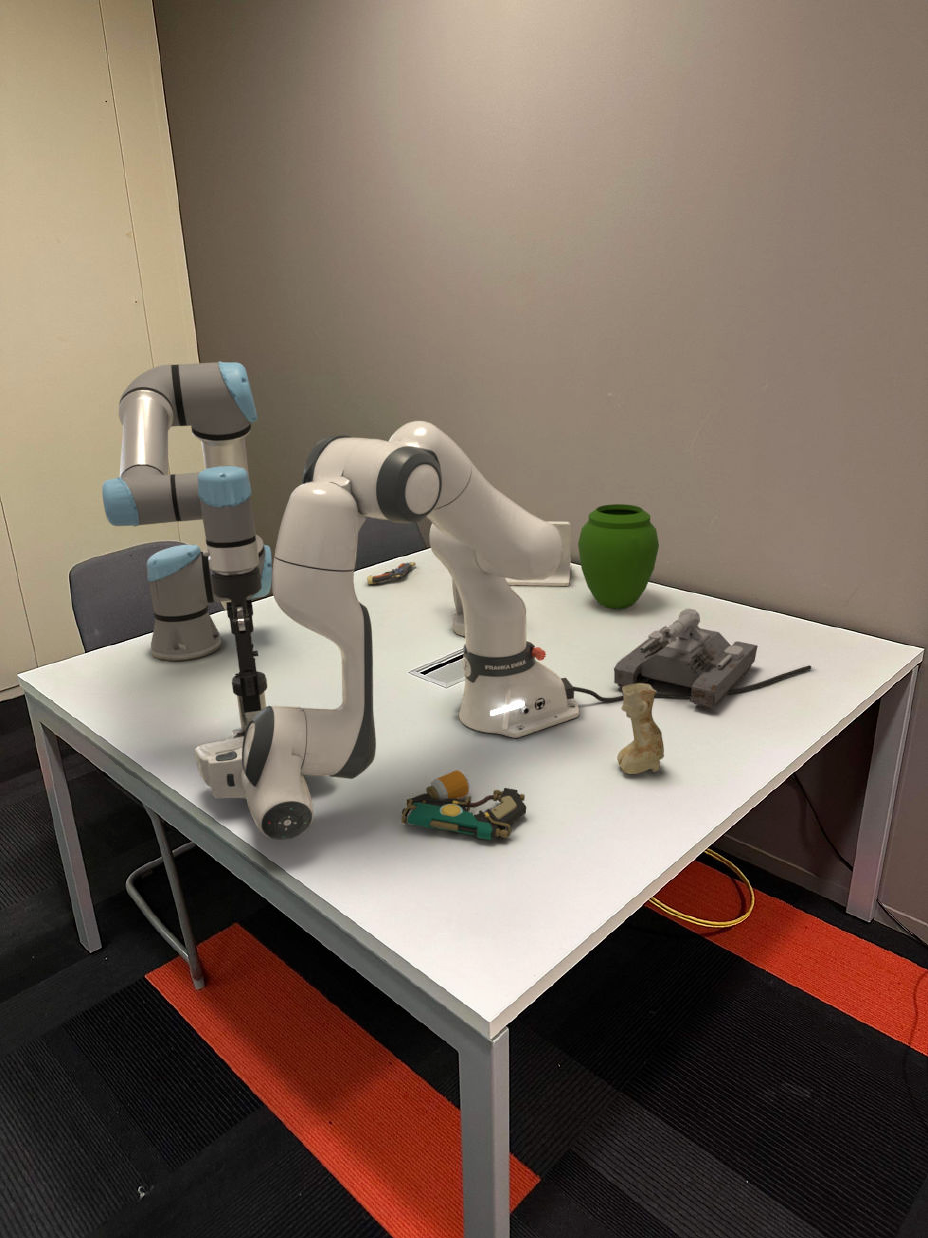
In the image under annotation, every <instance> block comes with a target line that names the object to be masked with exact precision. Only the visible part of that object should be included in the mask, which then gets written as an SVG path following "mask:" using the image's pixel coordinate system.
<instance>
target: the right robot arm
mask: <svg viewBox="0 0 928 1238" xmlns="http://www.w3.org/2000/svg"><path fill="white" fill-rule="evenodd" d="M301 483H302V484H300V485H298V486H297V487H296V488H295V489H294V490H293V491H292V492H291V494H290V496H289V499H288V501H287V504H286V506H285V510H284V513H283V516H282V519H281V523H280V526H279V530H278V535H277V539H276V544H275V550H274V556H273V562H272V581H271V593H272V596H273V599H274V600H275V603H276V604H277V606H278V608H280V610H281V611H282V613H284V614H285V616H286V615H287V617H288V618H290V619H291V620H292V621H293V622H295V623H296V624H298V625H300V626H301V627H304V628H305V629H307V630H309V631H311V632H313V633H315V634H317V635H319V636H321V637H323V638H325V639H327V640H329V641H331V642H332V643H333V644H334V645H336V647H338V649H339V653H340V656H341V698H342V699H341V704H340V705H339V706H338V707H336V708H314V707H313V708H312V707H301V706H289V705H288V706H287V705H285V706H284V705H266V707H265V708H264V709H262V710H261V711H260V712H259V713H258V714H257V715H256V716H255V717H254V718H253V719H252V720H251V721H250V723H249V724H248V726H247V728H246V731H245V735H244V736H243V732H242V729H241V728H238V729H232V734H231V735H230V736H229V737H228V738H227V739H224V740H217V741H213V742H207V743H201V744H199V745H198V746H196V747H195V749H194V753H195V760H196V766H197V770H198V773H199V775H200V777H201V779H202V781H203V782H204V783H205V785H207V786H209V788H210V789H211V792H212V795H213V797H214V798H215V799H245V800H246V803H247V806H248V810H249V812H250V815H251V818H252V820H253V821H254V824H255V826H256V827H257V828H258V829H259V832H261V833H262V834H263V835H264V836H266V837H267V838H269V839H271V840H281V841H282V840H291V839H295V838H296V837H297V838H298V836H300V835H302V834H303V833H305V832H306V831H307V830H308V829H309V827H310V826H311V825H312V823H313V820H314V806H313V801H312V800H313V799H312V795H311V792H310V789H309V786H308V784H307V783H308V782H307V781H306V778H305V777H304V776H328V777H331V778H341V779H349V780H353V779H355V778H357V777H359V776H360V775H361V774H362V773H364V771H366V770H367V769H368V768H369V767H370V766H371V765H372V764H373V762H374V760H375V756H376V749H377V738H376V737H377V736H376V727H375V715H374V647H373V643H374V642H373V628H372V622H371V616H370V614H369V609H368V608H367V606H366V605H364V604H363V603H361V602H360V601H359V600H358V597H357V594H356V590H355V582H354V580H355V568H356V562H357V554H358V552H357V551H358V541H359V532H360V530H361V528H362V527H363V524H364V523H365V522H366V520H367V518H371V519H375V520H384V521H385V520H386V521H390V522H391V523H394V524H414V523H415V524H416V523H419V522H421V521H423V520H424V519H426V518H427V519H428V520H429V521H430V522H431V525H430V529H429V534H428V540H429V541H428V543H429V546H430V549H431V552H432V554H433V555H434V556H435V557H436V558H437V560H438V561H440V563H442V565H443V566H444V567H445V568H446V569H447V571H448V573H449V575H450V577H451V580H452V579H453V581H454V583H455V585H456V587H457V590H458V592H459V595H460V598H461V601H462V606H463V611H464V623H465V636H464V638H465V639H464V640H465V641H464V642H465V644H464V645H463V650H462V651H463V656H462V666H463V667H462V668H463V674H464V689H463V694H462V695H463V696H462V702H461V705H460V710H459V712H458V718H459V721H460V722H461V723H462V724H463V725H464V726H466V727H467V728H469V729H471V730H475V731H477V732H482V733H488V734H498V735H499V734H500V735H502V736H506V737H509V738H514V739H515V738H516V739H517V738H522V737H524V736H527V735H529V734H533V733H534V732H535V733H536V732H538V731H541V730H544V729H547V728H550V727H554V726H555V725H559V724H561V723H564V722H567V721H570V720H572V719H573V720H574V719H576V718H578V717H579V716H580V707H579V705H578V703H577V701H576V700H575V692H576V693H577V692H578V693H582V694H587V695H590V696H592V697H594V698H595V699H596V700H597V701H599V702H603V703H614V702H615V703H616V702H620V701H623V700H624V694H623V695H620V696H615V697H603V696H601V695H599V694H598V693H597V692H595V691H594V690H592V689H588V688H583V687H578V686H574V685H573V684H572V683H571V682H570V681H569V680H568V678H567V677H560V676H559V675H558V674H557V673H556V672H555V671H554V670H552V669H550V667H547V666H546V665H545V664H543V663H542V661H543V660H545V658H546V657H547V653H546V651H545V650H544V649H543V648H541V647H539V646H535V644H533V643H532V642H530V641H528V640H527V608H526V607H527V606H526V603H525V602H524V600H523V598H522V597H521V596H520V595H519V594H518V593H517V592H515V590H514V589H513V588H512V587H511V585H508V583H507V581H506V579H505V578H510V579H515V580H544V579H547V578H548V577H550V576H551V575H552V574H553V573H554V572H555V571H556V569H557V568H558V566H559V564H560V562H561V559H562V555H563V542H562V538H561V535H560V533H559V531H558V529H557V528H556V527H555V526H554V525H552V524H550V523H548V522H549V521H546V520H544V519H542V518H539V517H538V516H536V515H534V514H532V513H530V512H529V511H527V510H526V509H524V508H523V507H521V506H520V505H519V504H518V503H516V502H515V501H513V500H512V499H511V498H509V497H507V496H506V495H505V494H504V493H502V492H501V491H499V490H498V489H497V488H495V486H493V485H492V484H491V483H490V482H489V481H488V480H487V479H486V478H485V477H484V475H483V473H481V471H480V470H479V468H477V467H476V465H475V464H474V463H473V461H472V460H471V459H470V458H469V456H468V454H467V453H465V451H464V450H463V449H462V448H461V447H460V446H459V445H458V444H457V443H456V442H455V441H454V440H453V439H452V438H451V437H450V436H449V435H447V433H445V432H444V431H443V430H442V429H440V428H438V426H436V425H435V424H433V423H431V422H428V421H425V420H414V421H409V422H407V423H405V424H403V425H402V426H400V427H399V428H397V429H396V430H395V431H394V433H393V434H392V435H391V436H390V438H389V439H388V440H383V439H380V438H379V439H378V438H367V437H366V438H365V437H352V436H349V435H346V434H345V435H332V436H327V437H324V438H322V439H320V440H319V441H318V442H316V444H314V446H313V447H312V448H311V450H310V452H309V454H308V455H307V457H306V461H305V464H304V468H303V473H302V477H301ZM540 661H541V662H540ZM811 669H812V665H810V664H809V665H805V666H802V667H799V668H797V669H792V670H790V671H787V672H784V673H782V674H781V673H780V674H777V675H776V676H773V677H770V678H768V679H766V680H763V681H759V682H757V683H753V684H749V685H745V686H741V687H737V688H732V689H731V690H729V691H728V694H727V695H732V694H737V693H741V692H746V691H749V690H753V689H757V688H759V687H763V686H766V685H768V684H771V683H773V682H776V681H777V682H778V681H779V680H781V679H784V678H785V679H786V678H788V677H790V676H794V675H797V674H800V673H802V672H806V671H809V670H811ZM691 693H692V692H662V691H661V692H660V691H656V694H655V696H654V697H664V698H691Z"/></svg>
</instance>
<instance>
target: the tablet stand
mask: <svg viewBox="0 0 928 1238" xmlns="http://www.w3.org/2000/svg"><path fill="white" fill-rule="evenodd" d="M547 522H548V523H550V524H552V525H554V526H555V527H556V528H557V529H558V531H559V533H560V535H561V538H562V542H563V555H562V559H561V562H560V564H559V566H558V568H557V569H556V571H555V572H554V573H553V574H552V575H551V576H550V577H548V578H547V579H544V580H515V579H510V578H505V579H506V581H507V583H508V585H509V586H541V587H542V586H543V587H544V586H545V587H546V586H547V587H549V586H551V587H556V586H557V587H569V586H570V580H571V579H570V578H571V565H572V564H571V560H572V558H571V522H569V521H547Z"/></svg>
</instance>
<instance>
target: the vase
mask: <svg viewBox="0 0 928 1238" xmlns="http://www.w3.org/2000/svg"><path fill="white" fill-rule="evenodd" d="M587 516H588V517H587V518H588V521H587V522H586V523H585V524H584V525H583V526H582V527H581V529H580V534H579V538H578V541H577V546H578V554H579V562H580V569H581V571H582V574H583V577H584V580H585V583H586V585H587V588H588V590H589V591H590V594H592V597H593V598H594V600H595V601H596V602H597V603H598V604H599V605H600V606H602V607H604V608H606V609H609V610H625V609H628V608H630V607H632V606H634V604H636V602H638V601H639V599H640V597H641V596H642V595H643V593H644V592H645V590H646V588H647V586H648V584H649V581H650V579H651V577H652V574H653V572H654V570H655V566H656V562H657V557H658V552H659V548H660V544H659V543H660V542H659V537H658V531H657V528H656V527H655V526H654V524H653V523H652V522H651V515H650V514H649V512H647V511H645V510H644V509H643V508H642V507H641V506H638V505H633V504H622V503H621V504H619V503H616V504H615V503H614V504H604V505H601V506H598V507H597V508H595V509H594V510H592V511H591V512H590V513H589V514H588V515H587Z"/></svg>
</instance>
